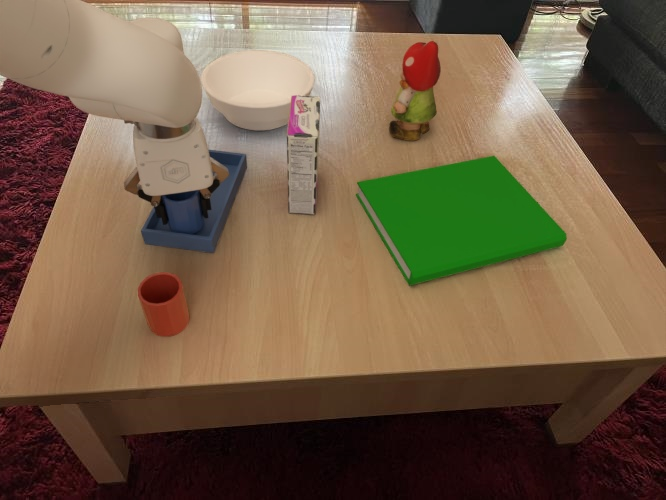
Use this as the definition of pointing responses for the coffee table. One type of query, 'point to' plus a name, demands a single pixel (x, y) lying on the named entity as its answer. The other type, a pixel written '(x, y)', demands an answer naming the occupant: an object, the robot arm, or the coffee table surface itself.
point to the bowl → (256, 87)
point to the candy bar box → (303, 154)
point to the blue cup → (184, 212)
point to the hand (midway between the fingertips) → (185, 214)
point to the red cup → (164, 304)
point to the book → (456, 218)
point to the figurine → (416, 92)
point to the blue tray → (217, 216)
